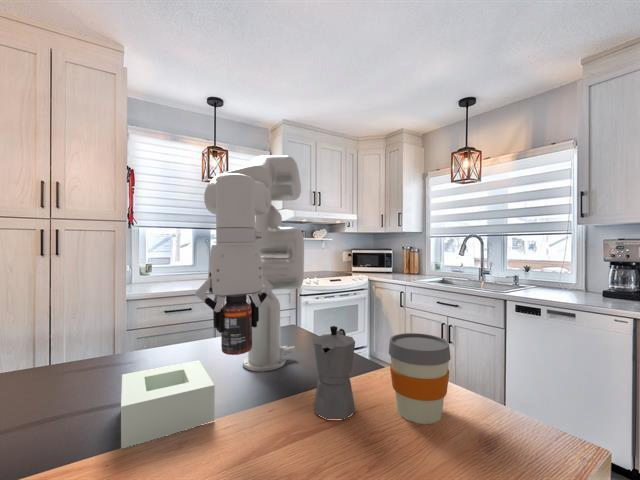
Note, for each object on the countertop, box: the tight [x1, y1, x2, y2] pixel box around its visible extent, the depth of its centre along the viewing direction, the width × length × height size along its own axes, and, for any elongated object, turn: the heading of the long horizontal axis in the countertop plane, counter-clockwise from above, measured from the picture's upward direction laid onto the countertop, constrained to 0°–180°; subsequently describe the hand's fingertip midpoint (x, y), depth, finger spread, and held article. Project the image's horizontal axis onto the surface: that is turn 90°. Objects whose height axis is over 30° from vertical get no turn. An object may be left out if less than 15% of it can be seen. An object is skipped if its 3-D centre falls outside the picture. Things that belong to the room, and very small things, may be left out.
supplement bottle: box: [220, 295, 252, 356], centre depth 63 cm, size 6×6×11 cm
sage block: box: [120, 359, 216, 450], centre depth 67 cm, size 16×16×8 cm
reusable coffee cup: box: [388, 332, 451, 425], centre depth 68 cm, size 13×13×15 cm
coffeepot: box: [312, 325, 356, 419], centre depth 70 cm, size 15×9×18 cm, turn 162°
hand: (236, 327), depth 63 cm, fingers closed on supplement bottle, 5 cm apart
